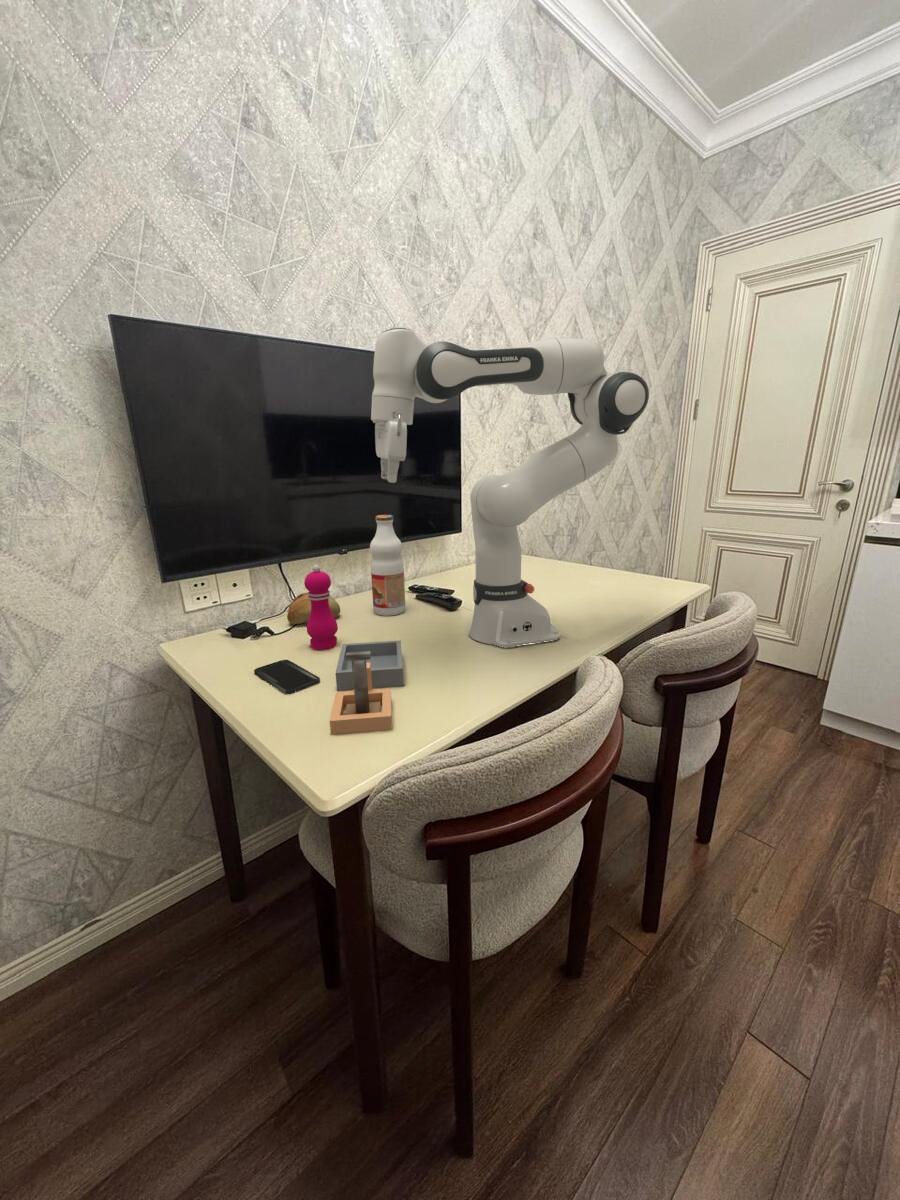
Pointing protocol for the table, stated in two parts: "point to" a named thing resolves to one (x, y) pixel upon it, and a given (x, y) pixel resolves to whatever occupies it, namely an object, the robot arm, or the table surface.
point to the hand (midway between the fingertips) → (388, 480)
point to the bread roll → (307, 609)
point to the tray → (373, 664)
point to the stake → (360, 685)
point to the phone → (287, 676)
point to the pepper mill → (320, 611)
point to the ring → (361, 721)
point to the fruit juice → (387, 569)
